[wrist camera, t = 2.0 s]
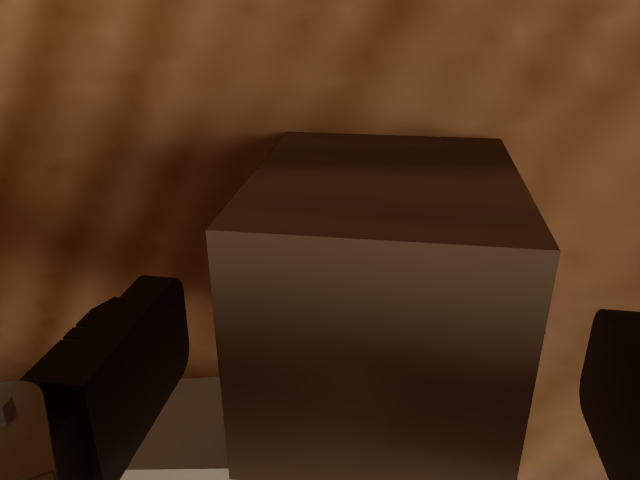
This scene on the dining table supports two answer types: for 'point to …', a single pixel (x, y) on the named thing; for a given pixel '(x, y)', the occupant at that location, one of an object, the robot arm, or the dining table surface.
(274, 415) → the walnut block
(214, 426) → the riser block
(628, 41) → the dining table surface
